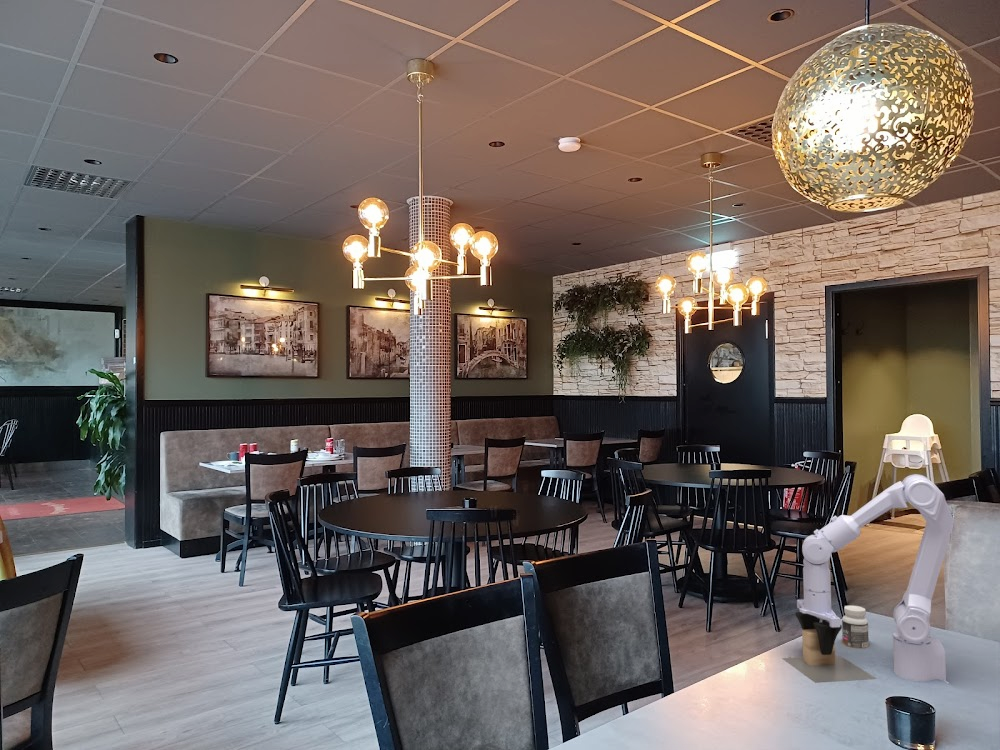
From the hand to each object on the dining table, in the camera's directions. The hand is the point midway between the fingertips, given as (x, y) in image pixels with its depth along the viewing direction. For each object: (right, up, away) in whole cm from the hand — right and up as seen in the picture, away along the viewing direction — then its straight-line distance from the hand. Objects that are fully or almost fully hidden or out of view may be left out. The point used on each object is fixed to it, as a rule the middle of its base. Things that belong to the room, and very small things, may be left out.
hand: (818, 649), depth 162 cm
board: (0, -4, -4) cm, 5 cm away
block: (0, -3, 0) cm, 3 cm away
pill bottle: (+14, -4, +11) cm, 18 cm away
